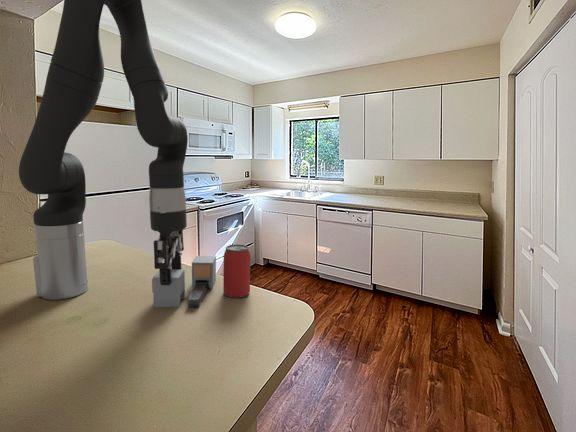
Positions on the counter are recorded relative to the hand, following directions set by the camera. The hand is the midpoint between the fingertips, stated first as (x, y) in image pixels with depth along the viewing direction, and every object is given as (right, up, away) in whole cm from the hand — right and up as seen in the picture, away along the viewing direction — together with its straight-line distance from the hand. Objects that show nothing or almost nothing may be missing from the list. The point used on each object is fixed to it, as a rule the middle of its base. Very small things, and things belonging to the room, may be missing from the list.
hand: (171, 277), depth 73 cm
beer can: (+14, -6, +7) cm, 16 cm away
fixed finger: (+4, -4, +12) cm, 13 cm away
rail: (+5, -5, +6) cm, 9 cm away
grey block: (-1, -6, +1) cm, 6 cm away
